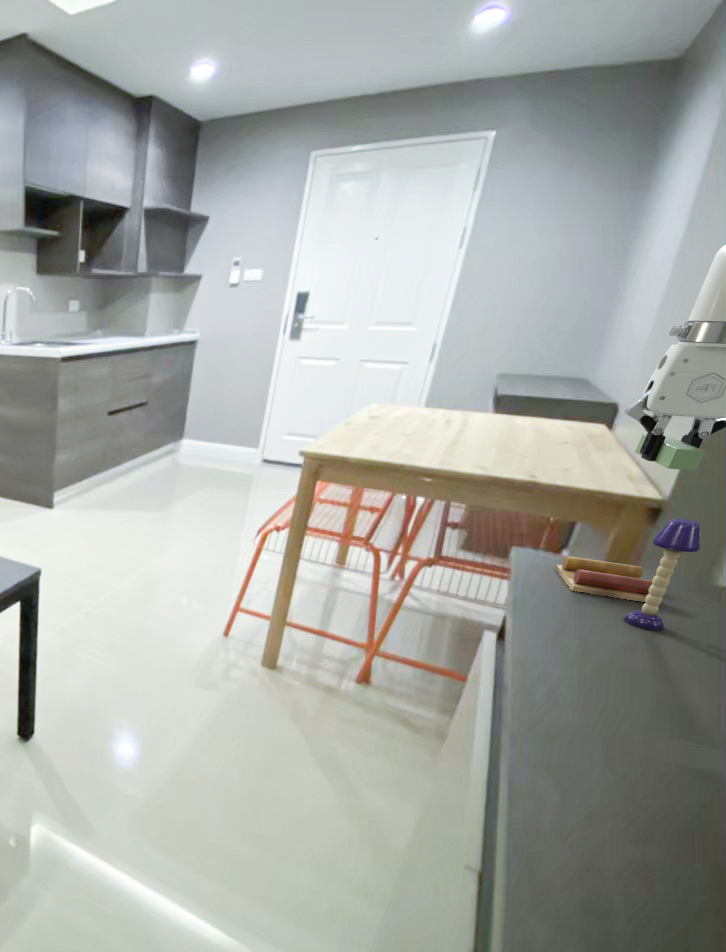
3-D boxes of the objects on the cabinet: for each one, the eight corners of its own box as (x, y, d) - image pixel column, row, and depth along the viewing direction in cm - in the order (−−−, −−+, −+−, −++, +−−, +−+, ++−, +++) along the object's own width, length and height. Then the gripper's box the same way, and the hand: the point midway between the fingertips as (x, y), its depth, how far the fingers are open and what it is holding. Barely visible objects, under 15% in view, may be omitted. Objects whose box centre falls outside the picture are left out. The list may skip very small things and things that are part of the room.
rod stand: (633, 581, 108) (641, 563, 107) (659, 605, 99) (668, 586, 98) (554, 569, 113) (560, 552, 112) (571, 591, 104) (579, 573, 103)
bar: (634, 452, 100) (642, 434, 98) (659, 454, 98) (667, 435, 97) (668, 468, 90) (677, 448, 89) (695, 471, 89) (705, 450, 87)
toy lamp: (617, 621, 94) (663, 520, 88) (620, 612, 97) (664, 514, 91) (661, 633, 91) (712, 529, 84) (663, 623, 94) (712, 521, 87)
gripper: (653, 335, 87) (603, 459, 95) (820, 338, 80) (752, 473, 87) (632, 333, 94) (586, 450, 101) (786, 336, 87) (724, 461, 94)
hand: (664, 459), depth 94 cm, fingers closed on bar, 3 cm apart
